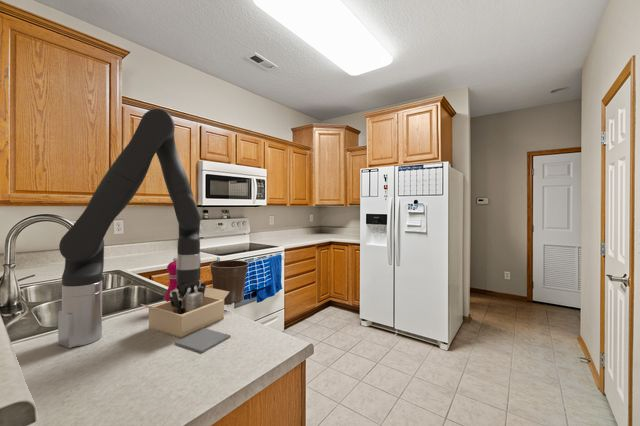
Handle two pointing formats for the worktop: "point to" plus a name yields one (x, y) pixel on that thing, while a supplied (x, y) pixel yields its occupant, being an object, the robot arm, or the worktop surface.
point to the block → (191, 302)
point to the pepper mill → (171, 278)
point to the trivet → (202, 340)
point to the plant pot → (230, 279)
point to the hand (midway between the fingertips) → (187, 315)
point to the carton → (188, 315)
